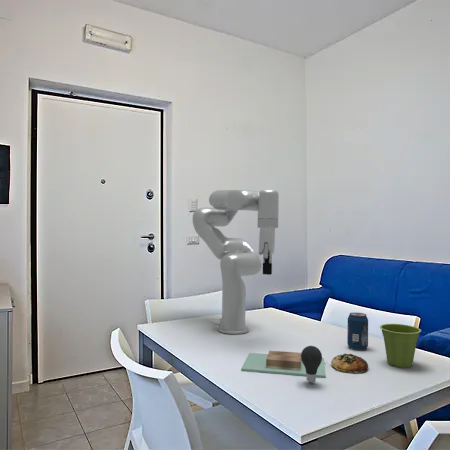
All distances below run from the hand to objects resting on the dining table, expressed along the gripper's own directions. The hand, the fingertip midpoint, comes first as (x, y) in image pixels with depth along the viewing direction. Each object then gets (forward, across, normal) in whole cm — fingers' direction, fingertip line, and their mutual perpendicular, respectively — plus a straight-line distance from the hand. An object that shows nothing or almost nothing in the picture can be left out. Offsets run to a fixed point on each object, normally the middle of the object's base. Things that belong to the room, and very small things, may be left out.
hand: (267, 274), depth 150 cm
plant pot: (+25, +13, +43) cm, 52 cm away
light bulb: (+25, +36, +16) cm, 47 cm away
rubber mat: (+25, +23, +8) cm, 35 cm away
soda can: (+25, -2, +32) cm, 41 cm away
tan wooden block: (+23, +19, +8) cm, 31 cm away
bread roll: (+26, +20, +27) cm, 42 cm away
